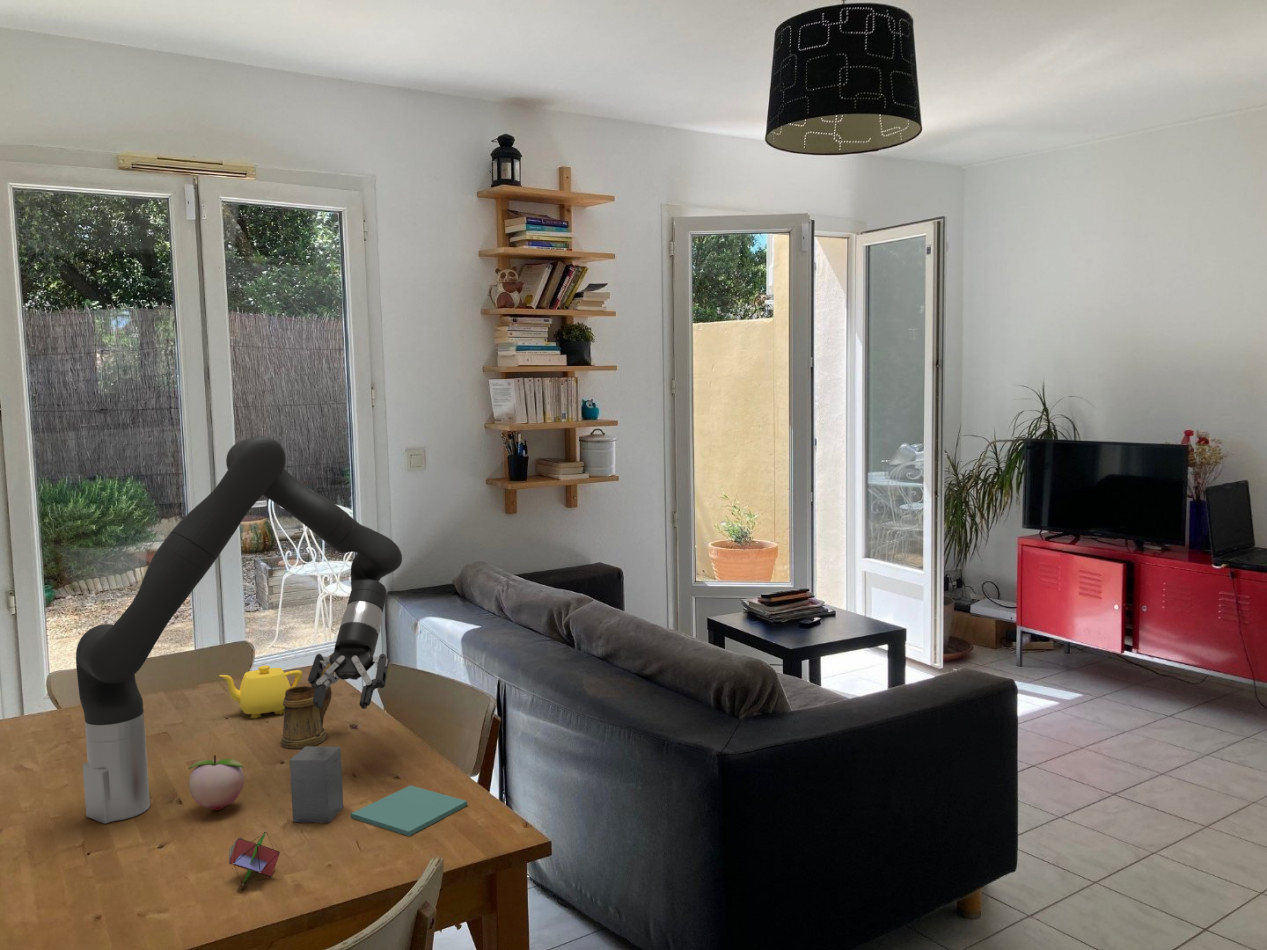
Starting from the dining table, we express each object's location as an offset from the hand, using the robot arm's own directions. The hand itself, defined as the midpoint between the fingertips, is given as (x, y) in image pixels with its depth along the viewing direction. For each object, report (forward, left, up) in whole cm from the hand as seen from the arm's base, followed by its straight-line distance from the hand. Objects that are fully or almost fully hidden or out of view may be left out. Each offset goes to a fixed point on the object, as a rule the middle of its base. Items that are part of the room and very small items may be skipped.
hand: (340, 706), depth 184 cm
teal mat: (-1, -18, -15) cm, 24 cm away
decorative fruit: (-18, +12, -16) cm, 27 cm away
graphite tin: (-10, -5, -15) cm, 19 cm away
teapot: (+21, +52, -16) cm, 58 cm away
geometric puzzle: (-30, -15, -16) cm, 38 cm away
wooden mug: (+15, +27, -16) cm, 34 cm away
